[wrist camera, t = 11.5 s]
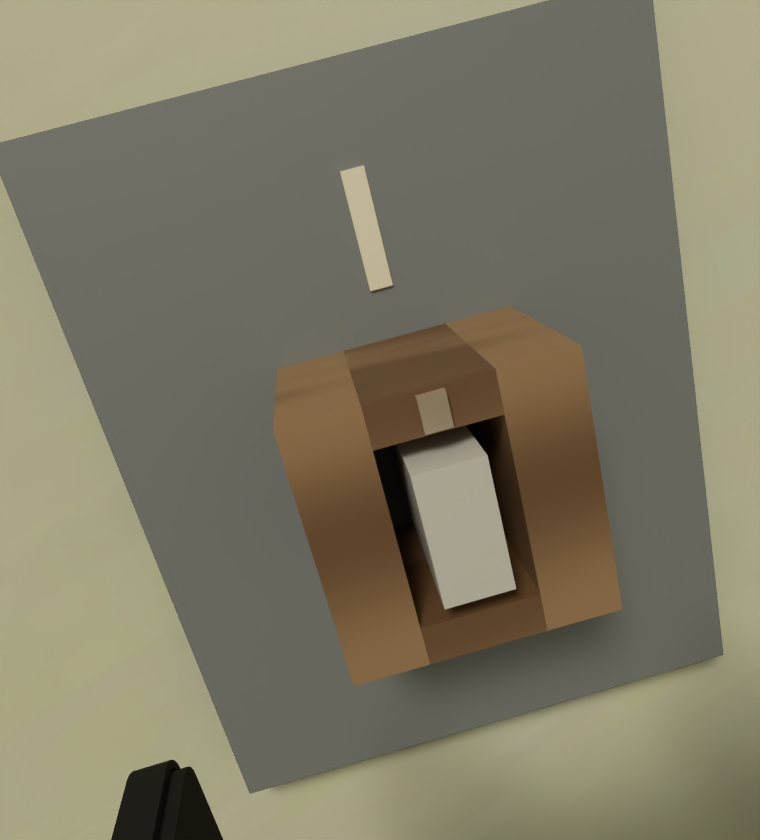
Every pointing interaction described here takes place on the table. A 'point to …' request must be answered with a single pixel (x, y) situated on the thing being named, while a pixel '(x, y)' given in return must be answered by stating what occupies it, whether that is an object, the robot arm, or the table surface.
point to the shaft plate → (375, 321)
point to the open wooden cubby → (511, 472)
